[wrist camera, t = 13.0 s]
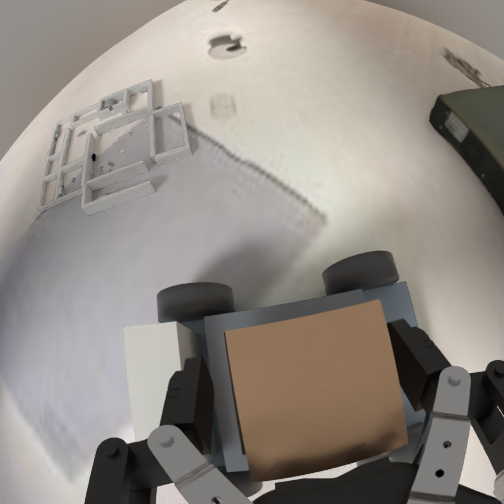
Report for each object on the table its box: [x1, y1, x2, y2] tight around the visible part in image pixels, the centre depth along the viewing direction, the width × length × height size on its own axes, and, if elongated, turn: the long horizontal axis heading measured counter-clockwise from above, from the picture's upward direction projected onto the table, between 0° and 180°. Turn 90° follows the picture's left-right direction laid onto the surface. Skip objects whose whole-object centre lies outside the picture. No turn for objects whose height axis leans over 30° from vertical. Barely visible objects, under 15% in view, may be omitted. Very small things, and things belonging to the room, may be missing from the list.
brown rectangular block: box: [225, 299, 409, 483], centre depth 12 cm, size 5×5×10 cm
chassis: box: [124, 251, 426, 497], centre depth 16 cm, size 18×13×7 cm
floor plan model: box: [38, 79, 192, 216], centre depth 29 cm, size 19×25×2 cm
